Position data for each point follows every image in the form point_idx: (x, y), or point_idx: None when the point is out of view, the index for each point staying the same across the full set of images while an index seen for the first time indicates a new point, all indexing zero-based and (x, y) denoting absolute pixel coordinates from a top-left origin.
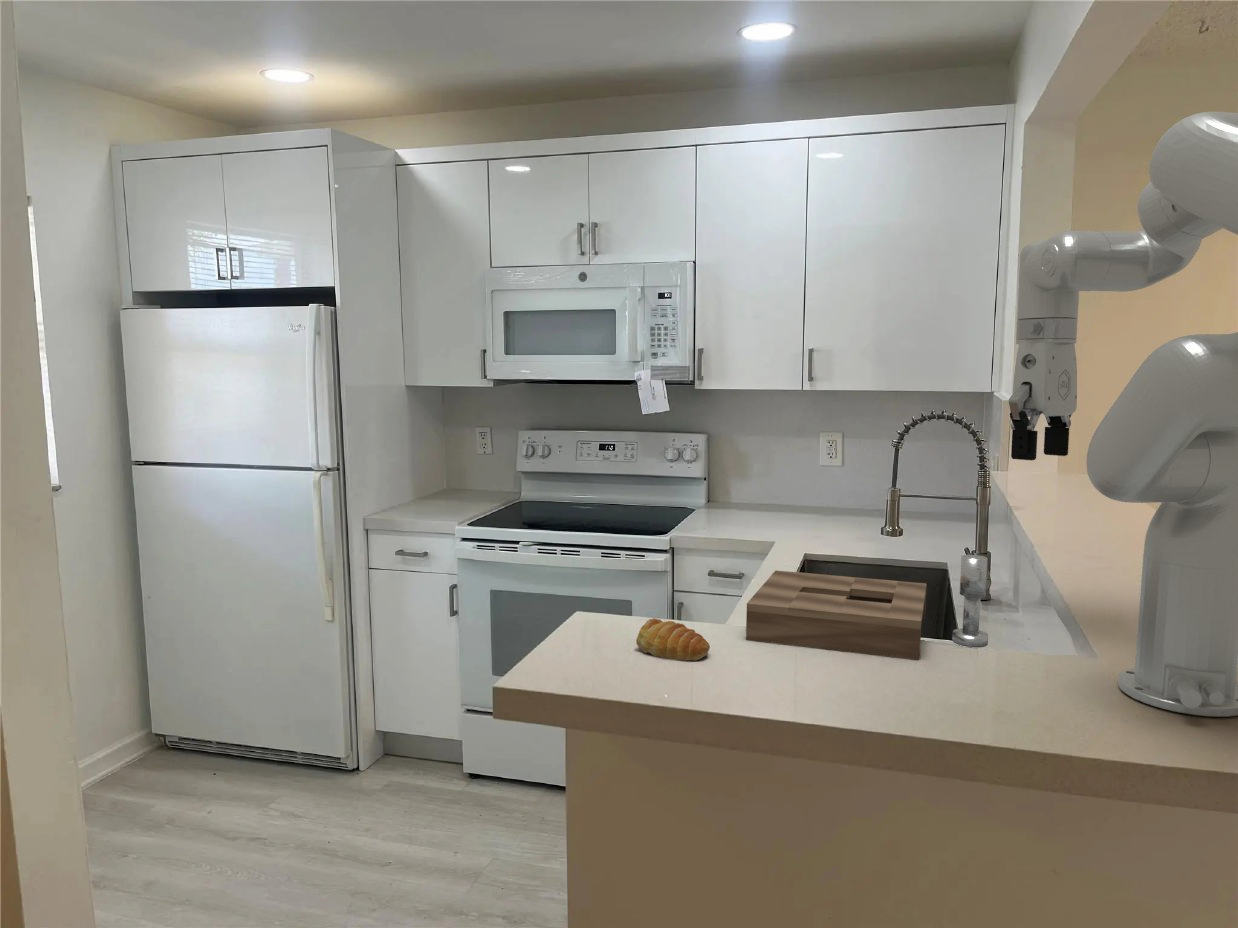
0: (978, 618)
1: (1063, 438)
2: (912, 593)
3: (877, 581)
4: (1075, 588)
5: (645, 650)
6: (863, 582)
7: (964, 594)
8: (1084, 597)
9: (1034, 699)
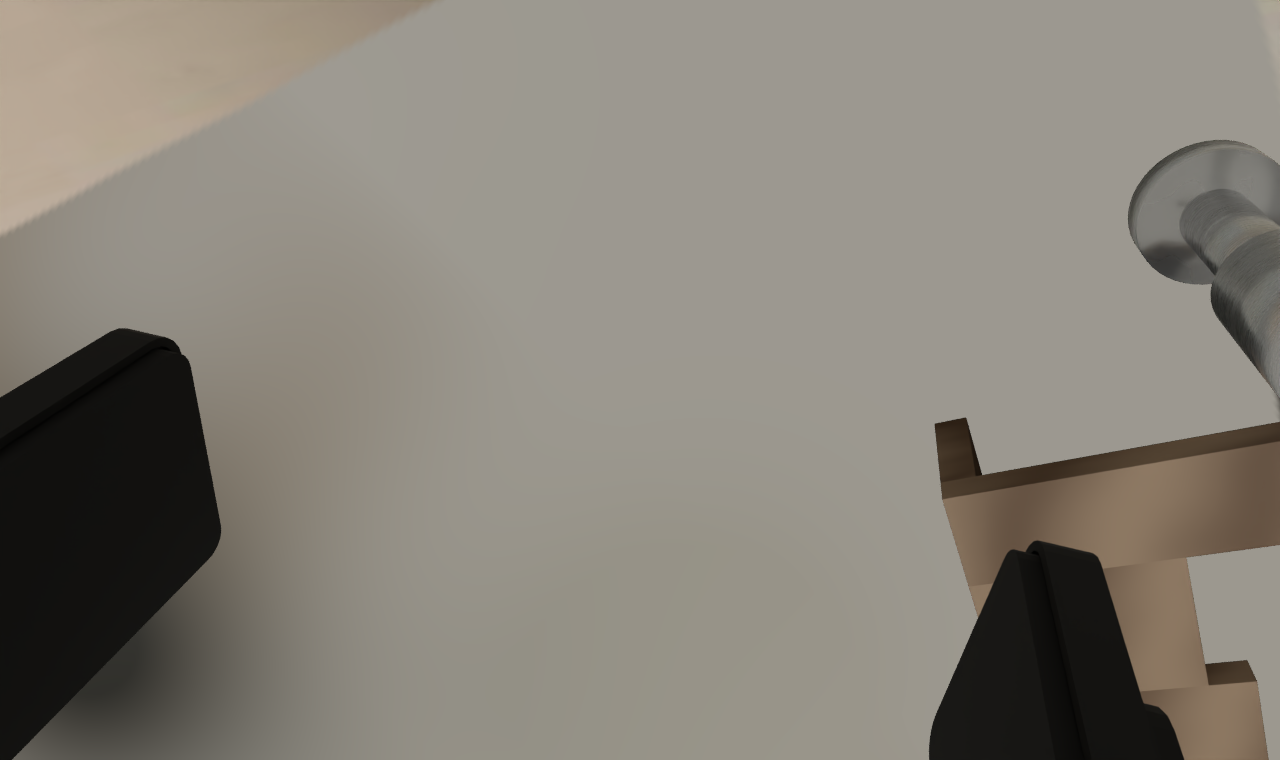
0: (1256, 212)
1: (12, 495)
2: (1159, 503)
3: None
4: (137, 102)
5: None
6: None
7: None
8: (229, 34)
9: None
